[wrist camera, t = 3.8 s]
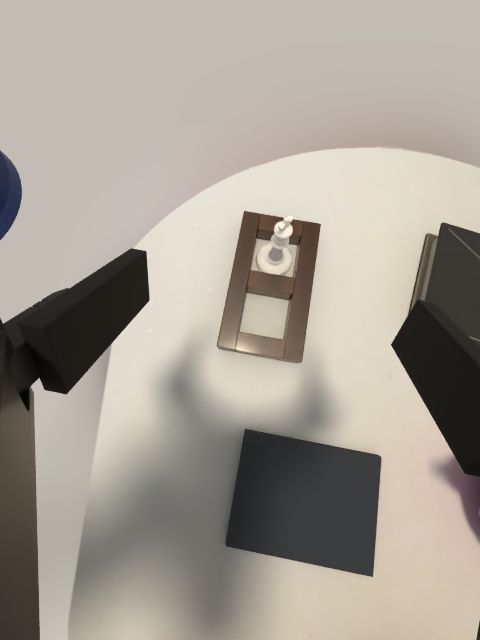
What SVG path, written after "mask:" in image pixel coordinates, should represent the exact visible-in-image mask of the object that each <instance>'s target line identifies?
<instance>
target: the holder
mask: <svg viewBox="0 0 480 640" xmlns="http://www.w3.org/2000/svg"><path fill="white" fill-rule="evenodd" d="M283 220H284V218H282V217H276V216H270V215H264V214H258V213H252V212H247V211H244V214H243V219H242V224H241V229H240V234H239V239H238V244H237V249H236V254H235V259H234V264H233V268H232V273H231V278H230V283H229V288H228V293H227V298H226V303H225V308H224V313H223V318H222V323H221V328H220V332H219V337H218V342H217V347H218V348H219V349H225V350H230V351H235V352H241V353H246V354H251V355H257V356H262V357H268V358H273V359H278V360H284V361H289V362H294V363H300V362H302V358H303V351H304V343H305V336H306V329H307V321H308V314H309V307H310V299H311V292H312V285H313V277H314V270H315V263H316V255H317V248H318V241H319V233H320V226H321V224H318V223H312V222H306V221H300V220H294V219H293V220H292V222H290V224H291V226H292V228H293V232H292V234H291V236H290V237H289V244H295V245H298V247H297V253H296V260H295V266H294V273H293V278H292V277H287V276H281V275H275V274H270V273H264V272H258V271H253V270H251V264H252V259H253V254H254V249H255V243H256V238H260V239H266V240H271V237H272V236H273V235H274V234H275V233H274V227H275V225H276V224H277V223H278V222H280V221H283ZM246 292H249V293H254V294H260V295H265V296H271V297H277V298H282V299H288V300H289V306H288V312H287V319H286V325H285V332H284V338H283V340H281V339H275V338H270V337H264V336H259V335H254V334H248V333H243V332H239V328H240V323H241V318H242V312H243V307H244V302H245V296H246Z"/></svg>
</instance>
